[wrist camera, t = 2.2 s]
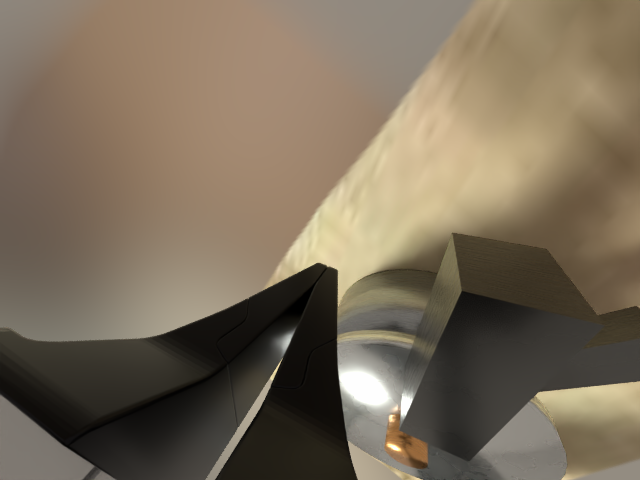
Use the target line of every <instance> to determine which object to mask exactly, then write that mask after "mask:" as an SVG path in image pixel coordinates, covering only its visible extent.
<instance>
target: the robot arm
mask: <svg viewBox="0 0 640 480" xmlns="http://www.w3.org/2000/svg"><path fill="white" fill-rule="evenodd" d="M337 318H338V270H337V269H334V268H332V267H327V265H324V264H321V263H316V264H314V265H312V266H310V267H308V268H306V269H304V270H302V271H300V272H298V273H297V274H295V275H293V276H291V277H289V278H287V279H285V280H283V281H281V282H279V283H277V284H275V285H273V286H271V287H269V288H267V289H265V290H263V291H261V292H259V293H257V294H255V295H253V296H251V297H249V299H245V300H243V301H241V302H239V303H237V304H235V305H233V306H231V307H229V308H227V309H225V310H222V311H220V312H217V313H215V314H213V315H210V316H208V317H205V318H203V319H200V320H198V321H195V322H193V323H190V324H188V325H185V326H182V327H180V328H177V329H175V330H172V331H170V332H167V333H164V334H161V335H157V336H153V337H148V338H140V339H115V340H89V341H61V342H47V341H36V340H32V339H27V338H25V337H23V336H21V335H20V334H19V333H17V332H15V331H14V330H13V329H11V328H8V327H1V328H0V480H205V479H206V478H207V476H208V474H209V473H210V471H211V470H212V468H213V467H214V465H215V463H216V462H217V460H218V459H219V457H220V456H221V454H222V452H223V451H224V449H225V448H226V446H227V445H228V443H229V441H230V440H231V438H232V437H233V435H234V434H235V432H236V430H237V428H238V427H239V426H240V424H241V422H242V421H243V419H244V418H245V416H246V415H247V413H248V411H249V410H250V408H251V407H252V405H253V404H254V402H255V400H256V399H257V397H258V396H259V394H260V392H261V391H262V389H263V387H264V386H265V384H266V383H267V381H268V380H269V378H270V377H271V375H272V374H273V372H274V370H275V369H276V367H277V366H278V364H279V363H280V361H281V359H282V358H283V359H282V361H281V363H280V366H279V368H278V370H277V373H276V375H275V377H274V380H273V382H272V384H271V388H270V389H269V391H268V393H267V396H266V398H265V400H264V402H263V404H262V406H261V408H260V410H259V411H258V413H257V414H256V416H255V417H254V419H253V421H252V422H251V424H250V426H249V427H248V429H247V430H246V432H245V434H244V435H243V436H242V438H241V440H240V441H239V443H238V444H237V446H236V448H235V449H234V451H233V452H232V454H231V456H230V457H229V459H228V460H227V462H226V463H225V465H224V467H223V468H222V470H221V471H220V473H219V475H218V476H217V478H216V479H215V480H358V479H357V476H356V473H355V470H354V467H353V464H352V460H351V456H350V451H349V446H348V441H347V435H346V428H345V421H344V413H343V405H342V398H341V390H340V382H339V372H338V353H337ZM283 356H284V357H283Z"/></svg>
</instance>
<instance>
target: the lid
mask: <svg viewBox="0 0 640 480" xmlns="http://www.w3.org/2000/svg"><path fill="white" fill-rule="evenodd" d="M604 326H605V325H604V324H603V322H602V321H601V320H600V318H599V317H598V316H597V314H596V313H595V312H594V311H593V309H592V308H591V307H590V305H589V304H588V303H587V301H586V300H585V299H584V297H583V296H582V295H581V294H580V292H579V291H578V290H577V288H576V287H575V286H574V284H573V283H572V282H571V280H570V279H569V278H568V277H567V275H566V274H565V273H564V271H563V270H562V269H561V267H560V266H559V265H558V263H557V262H556V261H555V260H554V258H553V257H552V256H551V254H550V253H549V252H548V250H547V249H543V248H537V247H531V246H526V245H520V244H514V243H508V242H503V241H497V240H491V239H486V238H480V237H474V236H468V235H463V234H457V233H452V235H451V238H450V241H449V243H448V246H447V249H446V252H445V255H444V257H443V260H442V263H441V266H440V269H439V271H438V274H437V277H436V280H435V283H434V286H433V288H432V291H431V294H430V297H429V300H428V302H427V305H426V308H425V311H424V314H423V316H422V319H421V322H420V325H419V328H418V331H417V333H416V335H412V334H406V333H401V332H393V331H383V330H362V331H352V332H347V333H342V334H338V335H337V353H338V372H339V382H340V390H341V398H342V405H343V413H344V421H345V428H346V435H347V440H348V441H350V442H351V443H352V444H354V445H355V446H357V447H358V448H360V449H361V450H363V451H364V452H366V453H368V454H369V455H371V456H373V457H375V458H376V459H378V460H380V461H382V462H384V463H386V464H388V465H390V466H392V467H394V468H396V469H398V470H400V471H403V472H405V473H407V474H410V475H412V476H414V477H417V478H420V479H423V480H561V479H562V478H563V476H564V475H565V472H566V468H567V457H566V452H565V450H564V447H563V444H562V442H561V439H560V436H559V434H558V431H557V429H556V426H555V424H554V421H553V419H552V417H551V415H550V414H549V412H548V411H547V409H546V408H545V406H544V405H543V404H542V403H541V402H540V401H539V400H538V399H537V398H536V397H535V395H536V394H537V393H538V392H539V391H540V390H541V389H542V388H543V387H544V386H545V385H546V384H547V383H548V382H549V381H550V380H551V379H552V378H553V377H554V376H555V375H556V374H557V373H558V372H559V371H560V370H561V369H562V368H563V367H564V366H565V365H566V364H567V363H568V362H569V361H570V360H571V359H572V358H573V357H574V356H575V355H576V354H577V353H578V352H579V351H580V350H581V349H582V348H583V347H584V346H585V345H586V344H587V343H588V342H589V341H590V340H591V339H592V338H593V337H594V336H595V335H596V334H597V333H598V332H599V331H600V330H601V329H602V328H603V327H604Z"/></svg>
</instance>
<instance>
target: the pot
mask: <svg viewBox="0 0 640 480" xmlns="http://www.w3.org/2000/svg"><path fill="white" fill-rule="evenodd" d="M436 277H437V274H436V273H432V272H427V271H419V270H390V271H384V272H379V273H375V274H372V275H369V276H367V277H365V278H363V279H361V280H359V281H358V282H356V283H355V284H353V285H352V286H351V287H350V288H349V289H348V290H347V291H346V293H345V294H344V296H343V298H342V300H341V302H340V304H339V307H338V318H337V335H338V334H342V333H347V332H352V331H362V330H383V331H393V332H401V333H406V334H412V335H416V333H417V331H418V328H419V325H420V322H421V319H422V316H423V314H424V311H425V308H426V305H427V302H428V300H429V297H430V294H431V291H432V288H433V286H434V283H435V280H436ZM598 317H599V318H600V320H601V321H602V322H603V324H604V325H605V326H604V327H603V328H602V329H601V330H600V331H599V332H598V333H597V334H596V335H595V336H594V337H593V338H592V339H591V340H590V341H589V342H588V343H587V344H586V345H585V346H584V347H583V348H582V349H581V350H580V351H579V352H578V353H577V354H576V355H575V356H574V357H573V358H572V359H571V360H570V361H569V362H568V363H567V364H566V365H565V366H564V367H563V368H562V369H561V370H560V371H559V372H558V373H557V374H556V375H555V376H554V377H553V378H552V379H551V380H550V381H549V382H548V383H547V384H546V385H545V386H544V387H543V388H542V389H541V390H540V391H539V392H542V391H552V390H561V389H571V388H580V387H590V386H599V385H609V384H618V383H628V382H637V381H640V309H639V308H638V307H637V306H634V307H630V308H626V309H622V310H618V311H614V312H610V313H606V314H602V315H598Z"/></svg>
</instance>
